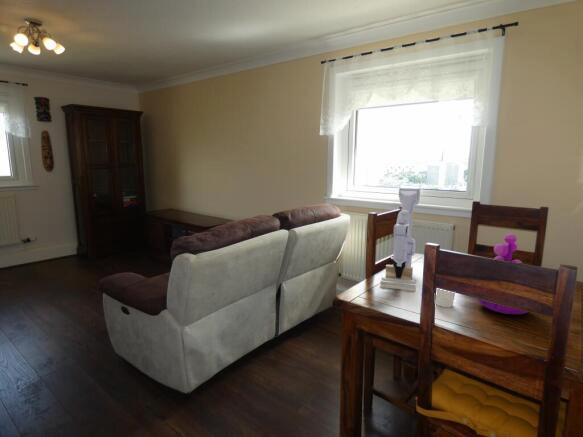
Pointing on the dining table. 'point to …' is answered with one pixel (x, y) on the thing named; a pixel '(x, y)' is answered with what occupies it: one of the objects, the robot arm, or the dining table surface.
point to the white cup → (444, 298)
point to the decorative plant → (502, 251)
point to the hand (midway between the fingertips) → (398, 276)
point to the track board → (398, 284)
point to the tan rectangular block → (405, 274)
